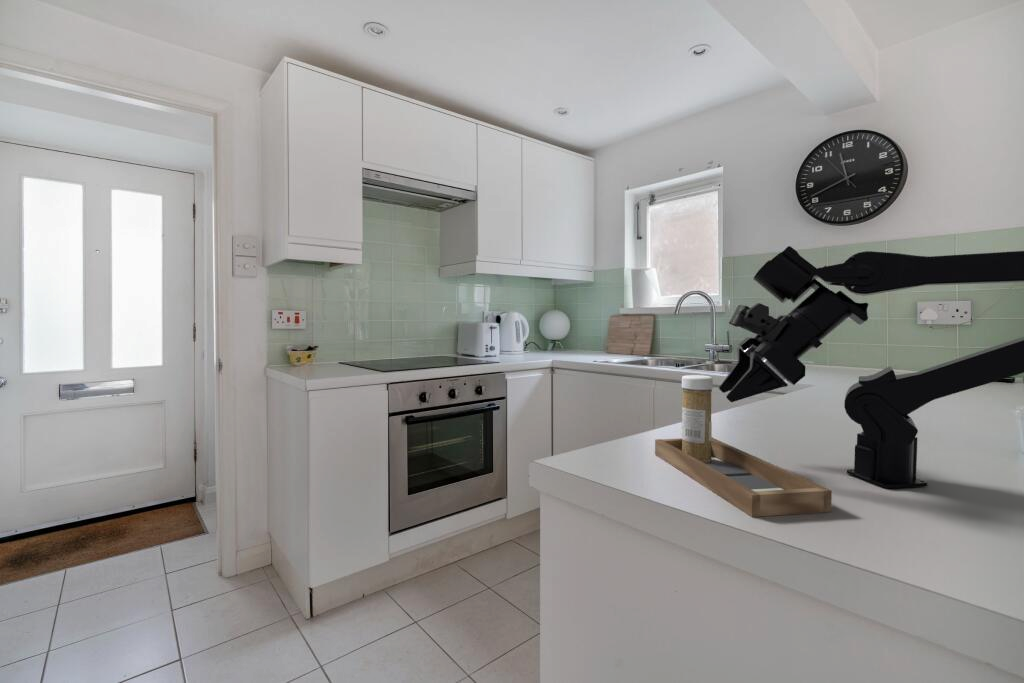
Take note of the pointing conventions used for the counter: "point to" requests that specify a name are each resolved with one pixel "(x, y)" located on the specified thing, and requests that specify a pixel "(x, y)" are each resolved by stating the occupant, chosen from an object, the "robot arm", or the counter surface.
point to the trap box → (790, 500)
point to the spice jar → (697, 416)
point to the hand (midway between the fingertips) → (724, 394)
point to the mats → (741, 476)
